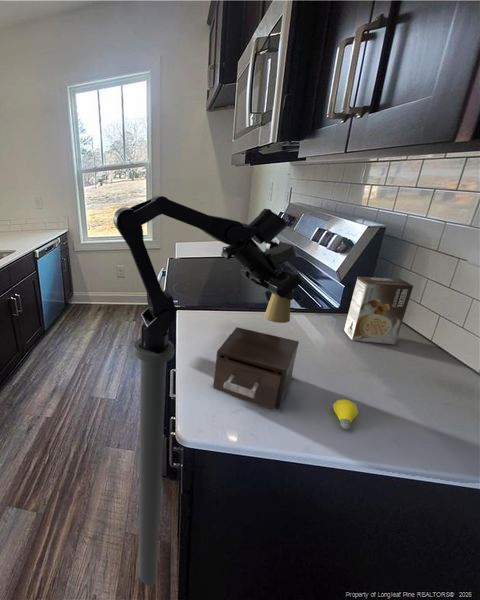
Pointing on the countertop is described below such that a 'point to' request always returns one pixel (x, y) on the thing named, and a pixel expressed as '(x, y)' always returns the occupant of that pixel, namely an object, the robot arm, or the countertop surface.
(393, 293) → the coffee box
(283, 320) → the cork
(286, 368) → the cabinet
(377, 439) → the countertop surface
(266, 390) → the drawer
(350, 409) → the light bulb
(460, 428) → the countertop surface
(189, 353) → the countertop surface
